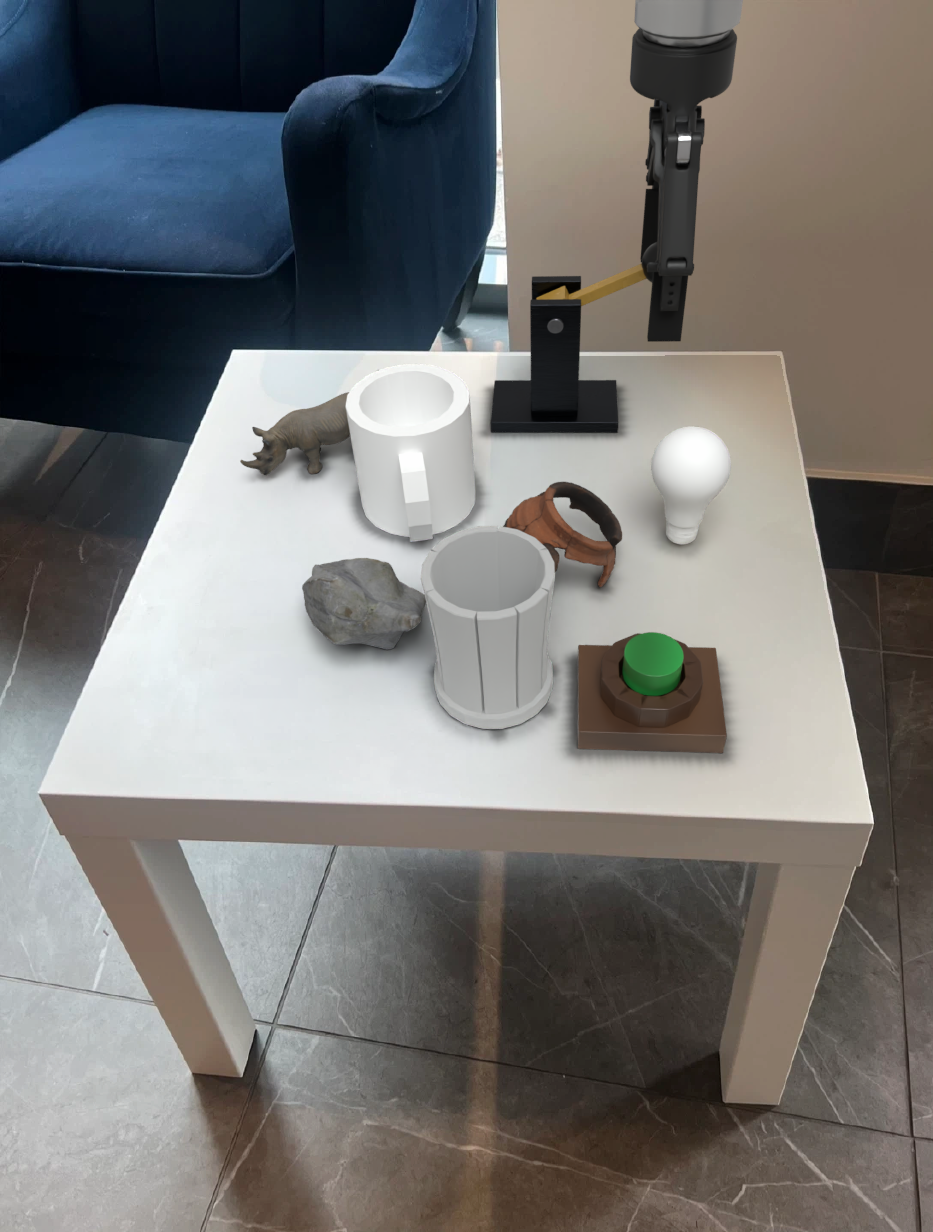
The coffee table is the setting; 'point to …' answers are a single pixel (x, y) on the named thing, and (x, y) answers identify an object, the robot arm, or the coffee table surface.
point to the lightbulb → (689, 477)
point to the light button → (652, 664)
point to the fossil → (361, 602)
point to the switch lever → (609, 281)
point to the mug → (413, 449)
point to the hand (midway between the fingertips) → (659, 297)
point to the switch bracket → (555, 374)
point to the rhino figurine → (302, 435)
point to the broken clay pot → (554, 532)
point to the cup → (490, 624)
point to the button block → (649, 704)
